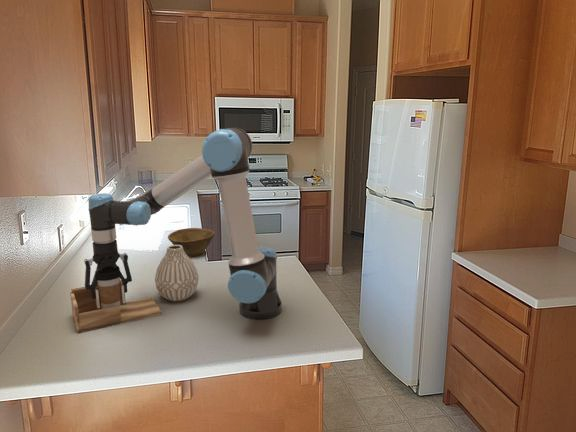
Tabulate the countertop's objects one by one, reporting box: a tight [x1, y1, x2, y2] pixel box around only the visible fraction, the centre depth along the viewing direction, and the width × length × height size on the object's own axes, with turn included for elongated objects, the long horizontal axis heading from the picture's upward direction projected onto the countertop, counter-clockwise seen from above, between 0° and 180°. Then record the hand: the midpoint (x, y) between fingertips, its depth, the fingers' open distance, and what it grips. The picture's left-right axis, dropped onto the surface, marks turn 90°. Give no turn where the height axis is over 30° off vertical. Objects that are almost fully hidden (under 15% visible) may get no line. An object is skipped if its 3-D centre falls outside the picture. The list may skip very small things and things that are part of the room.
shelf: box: [69, 279, 163, 334], centre depth 160 cm, size 14×27×10 cm, turn 120°
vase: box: [154, 244, 199, 302], centre depth 174 cm, size 16×16×20 cm
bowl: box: [167, 227, 215, 257], centre depth 227 cm, size 22×23×10 cm
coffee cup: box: [93, 265, 122, 309], centre depth 158 cm, size 8×8×15 cm
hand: (110, 304), depth 159 cm, fingers closed on coffee cup, 7 cm apart
